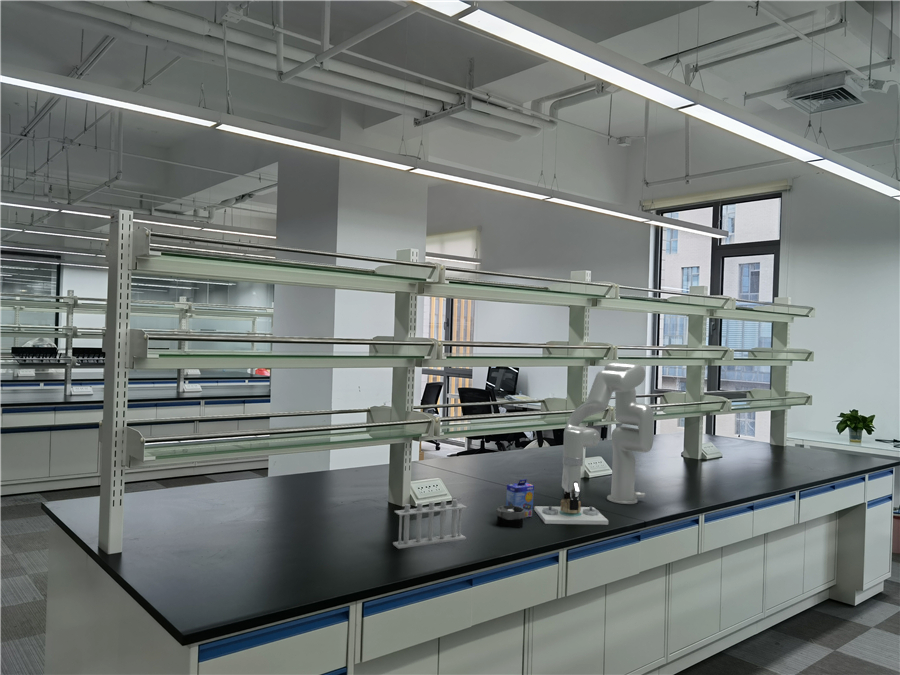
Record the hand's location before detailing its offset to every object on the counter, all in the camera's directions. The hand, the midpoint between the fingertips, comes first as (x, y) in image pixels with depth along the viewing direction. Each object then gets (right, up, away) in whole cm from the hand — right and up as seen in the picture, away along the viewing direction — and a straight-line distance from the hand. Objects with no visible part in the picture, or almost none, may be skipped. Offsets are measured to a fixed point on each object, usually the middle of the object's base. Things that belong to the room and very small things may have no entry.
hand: (570, 506), depth 250 cm
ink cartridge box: (-20, -3, -2) cm, 21 cm away
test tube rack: (-53, -3, -36) cm, 64 cm away
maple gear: (0, -1, 0) cm, 2 cm away
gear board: (0, -4, 0) cm, 4 cm away
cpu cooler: (-24, -4, -12) cm, 27 cm away
